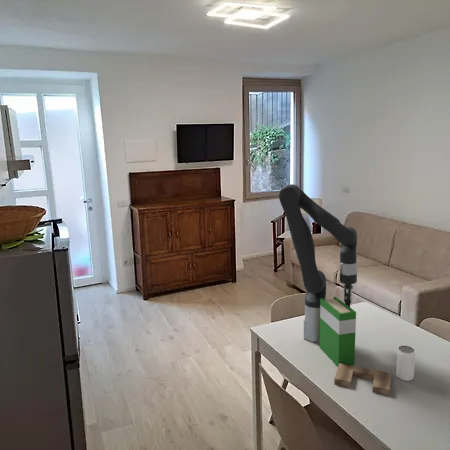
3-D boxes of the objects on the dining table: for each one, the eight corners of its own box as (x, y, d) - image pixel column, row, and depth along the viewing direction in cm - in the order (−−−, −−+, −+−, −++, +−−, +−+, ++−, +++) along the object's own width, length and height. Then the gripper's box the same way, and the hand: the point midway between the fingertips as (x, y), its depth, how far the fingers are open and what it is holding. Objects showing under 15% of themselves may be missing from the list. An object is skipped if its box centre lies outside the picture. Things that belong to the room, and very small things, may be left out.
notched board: (334, 384, 159) (334, 378, 158) (339, 368, 169) (339, 362, 169) (389, 395, 150) (389, 389, 150) (390, 378, 161) (391, 372, 161)
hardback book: (319, 347, 187) (320, 298, 182) (334, 345, 188) (335, 296, 183) (338, 367, 170) (339, 314, 165) (354, 365, 171) (356, 312, 166)
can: (415, 382, 158) (417, 353, 156) (397, 380, 159) (399, 352, 157) (411, 372, 164) (413, 345, 162) (394, 371, 166) (395, 344, 163)
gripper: (340, 267, 190) (340, 300, 193) (338, 276, 177) (338, 311, 180) (357, 268, 188) (357, 301, 190) (356, 277, 174) (356, 312, 177)
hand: (348, 306), depth 185 cm, fingers open, 8 cm apart
